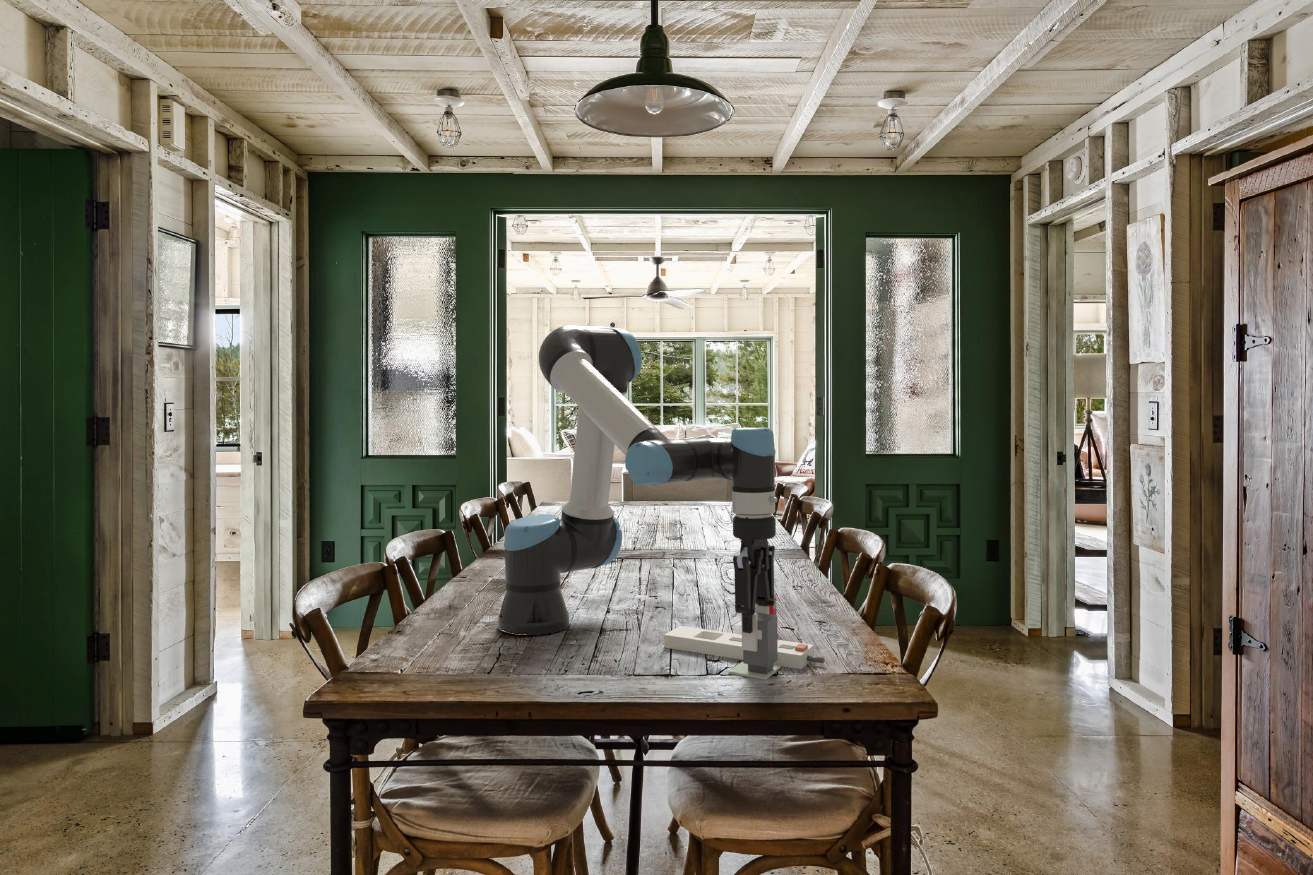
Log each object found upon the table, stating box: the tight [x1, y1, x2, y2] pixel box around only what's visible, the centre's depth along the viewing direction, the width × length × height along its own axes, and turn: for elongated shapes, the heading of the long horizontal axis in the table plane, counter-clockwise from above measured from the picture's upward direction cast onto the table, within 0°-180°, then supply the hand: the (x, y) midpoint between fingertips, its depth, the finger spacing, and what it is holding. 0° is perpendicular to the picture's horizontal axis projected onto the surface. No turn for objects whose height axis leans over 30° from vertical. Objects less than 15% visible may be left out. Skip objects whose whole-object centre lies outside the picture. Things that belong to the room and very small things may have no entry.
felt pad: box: [728, 661, 782, 681], centre depth 146 cm, size 7×7×1 cm
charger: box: [742, 613, 779, 674], centre depth 144 cm, size 5×5×10 cm
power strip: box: [663, 625, 825, 670], centre depth 155 cm, size 31×7×3 cm, turn 60°
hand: (755, 645), depth 145 cm, fingers closed on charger, 5 cm apart
